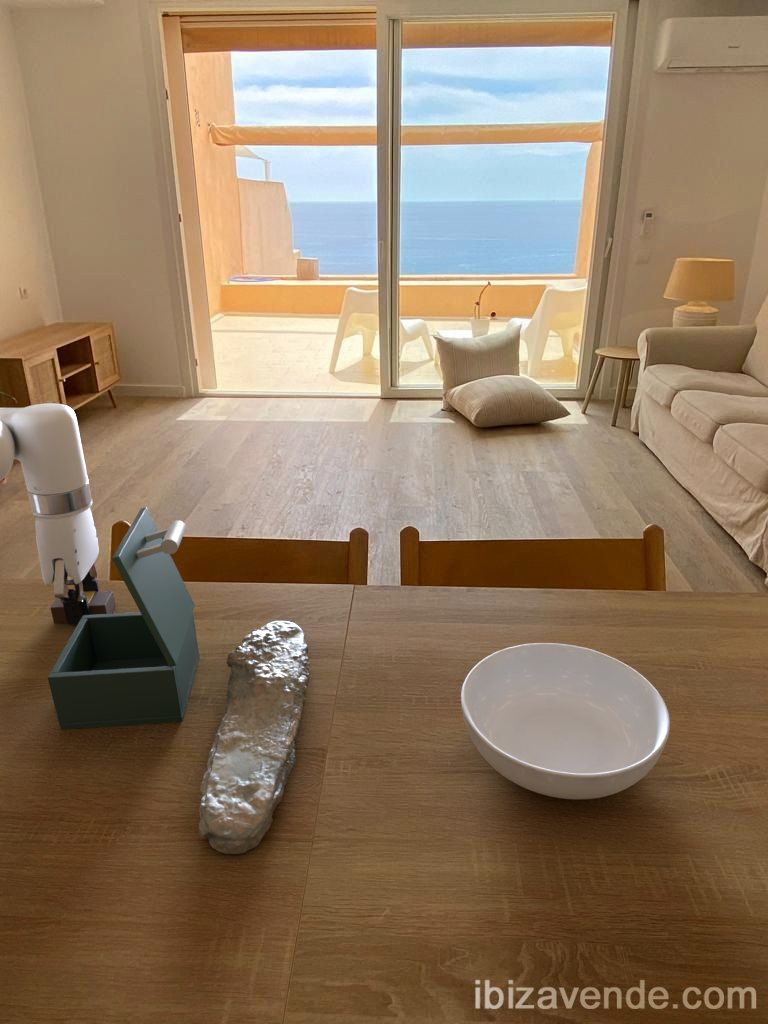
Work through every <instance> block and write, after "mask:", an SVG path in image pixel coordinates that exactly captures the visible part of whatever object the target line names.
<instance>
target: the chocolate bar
mask: <svg viewBox="0 0 768 1024" xmlns="http://www.w3.org/2000/svg"><path fill="white" fill-rule="evenodd" d="M84 598H87V600H88V604H89V609H90V614H91V615H99V614H113V612H114V610H115V609H116V600H115V595H114V591H113V590H104V591H101V590H99V592H96V591H89V592H84ZM50 613H51V616H52V620H53V624H68V623H67V620H66V615H65V611H64V606H63V603H62V602H61V599H60V598H55V600H54V601H53V603H52V604H51V606H50Z"/></svg>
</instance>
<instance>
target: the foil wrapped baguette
mask: <svg viewBox="0 0 768 1024" xmlns="http://www.w3.org/2000/svg"><path fill="white" fill-rule="evenodd" d="M308 653H309V646H308V644H307V643H306V633H305V632H304V631H303V629H302V628H301V627H300V626H299V625H298V624H296V623H294V622H292V621H288V620H287V621H286V620H275V621H271V622H268V623H267V624H265V625H263V626H262V627H259V629H252V631H251V632H250V633H249V634H247V635H245V636H243V639H242V640H241V645H237V646H236V647H235V650H231V651H229V653H228V654H227V655H228V656H227V659H226V664H227V667H229V668H231V669H230V671H231V673H230V674H229V678H228V682H227V687H228V688H227V692H226V706H225V714H224V717H222V718H221V719H220V726H219V727H218V728H217V731H216V734H215V738H214V740H213V743H212V746H211V748H210V751H209V752H208V757H207V759H208V760H207V762H206V771H205V773H204V774H203V775H202V776H203V777H202V779H201V783H200V785H199V793H200V795H201V796H200V804H199V806H198V809H199V814H198V816H199V819H200V821H199V823H198V832H197V833H198V836H199V838H200V839H207V840H208V844H209V846H210V847H211V848H212V849H214V850H215V851H217V852H219V853H222V854H225V855H240V854H245V853H246V852H248V851H250V850H252V849H254V848H255V847H257V846H259V845H260V844H261V841H262V839H263V838H264V837H265V835H266V834H267V832H268V831H269V829H270V828H271V826H272V823H273V821H274V819H273V813H274V811H275V809H276V808H277V806H278V805H279V804H280V803H281V802H282V800H283V797H284V795H285V786H286V785H287V783H288V776H289V775H290V773H291V771H292V769H293V767H294V766H295V763H296V751H295V749H296V745H295V741H296V740H297V739H296V738H297V735H298V733H299V731H300V728H301V721H302V713H303V709H304V704H303V702H305V701H306V697H305V694H306V691H307V688H308V686H309V682H310V673H309V670H310V666H311V664H310V659H309V657H308Z"/></svg>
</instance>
